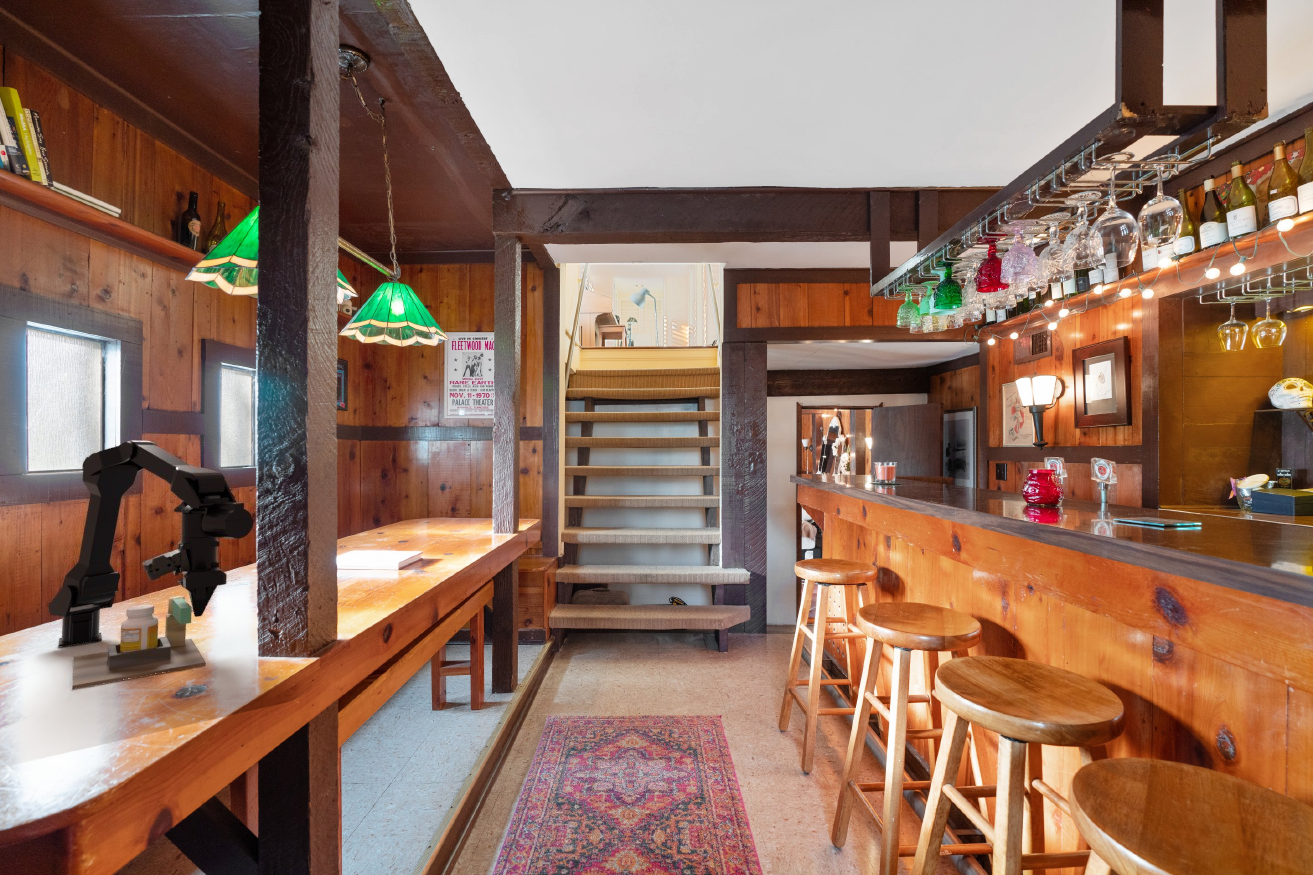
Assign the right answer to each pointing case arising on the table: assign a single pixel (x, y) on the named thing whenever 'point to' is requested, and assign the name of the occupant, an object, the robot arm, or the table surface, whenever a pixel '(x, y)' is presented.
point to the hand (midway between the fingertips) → (198, 616)
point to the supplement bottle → (139, 629)
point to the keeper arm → (180, 609)
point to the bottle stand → (138, 659)
